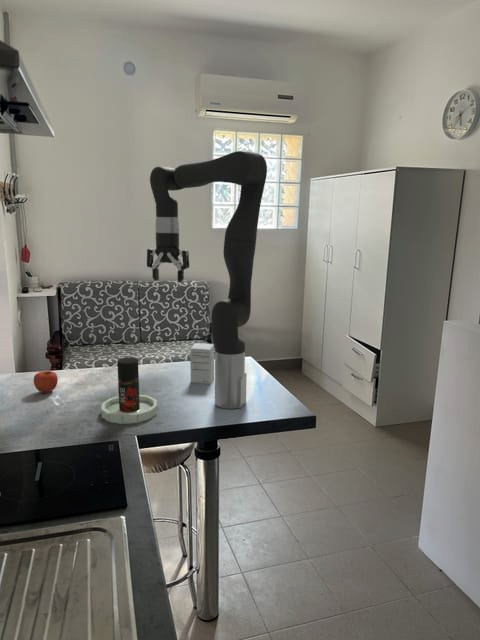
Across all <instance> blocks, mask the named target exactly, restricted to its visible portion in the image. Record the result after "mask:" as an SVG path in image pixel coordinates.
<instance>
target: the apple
mask: <svg viewBox="0 0 480 640" xmlns="http://www.w3.org/2000/svg"><path fill="white" fill-rule="evenodd" d="M58 380H59V377H58V375H57V373H56V372H54V371H51V368H49V370H41V371H39V372H37V373H35V374H34V376H33V385H34V387H35V388H36V390H37V391H38V392H40V393H41V394H46V395H47V394H49V393H51V392H52V391H54V390H55V389H56V387H57V384H58Z"/></svg>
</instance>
